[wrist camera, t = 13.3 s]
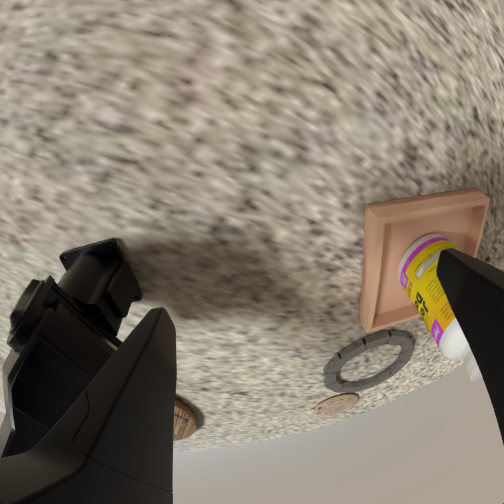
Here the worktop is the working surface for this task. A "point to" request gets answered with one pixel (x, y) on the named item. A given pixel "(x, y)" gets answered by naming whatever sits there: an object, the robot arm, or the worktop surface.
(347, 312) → the worktop surface
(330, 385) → the seat ring
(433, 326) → the supplement bottle
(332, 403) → the flatbread
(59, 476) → the robot arm
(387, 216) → the tray
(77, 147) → the worktop surface
